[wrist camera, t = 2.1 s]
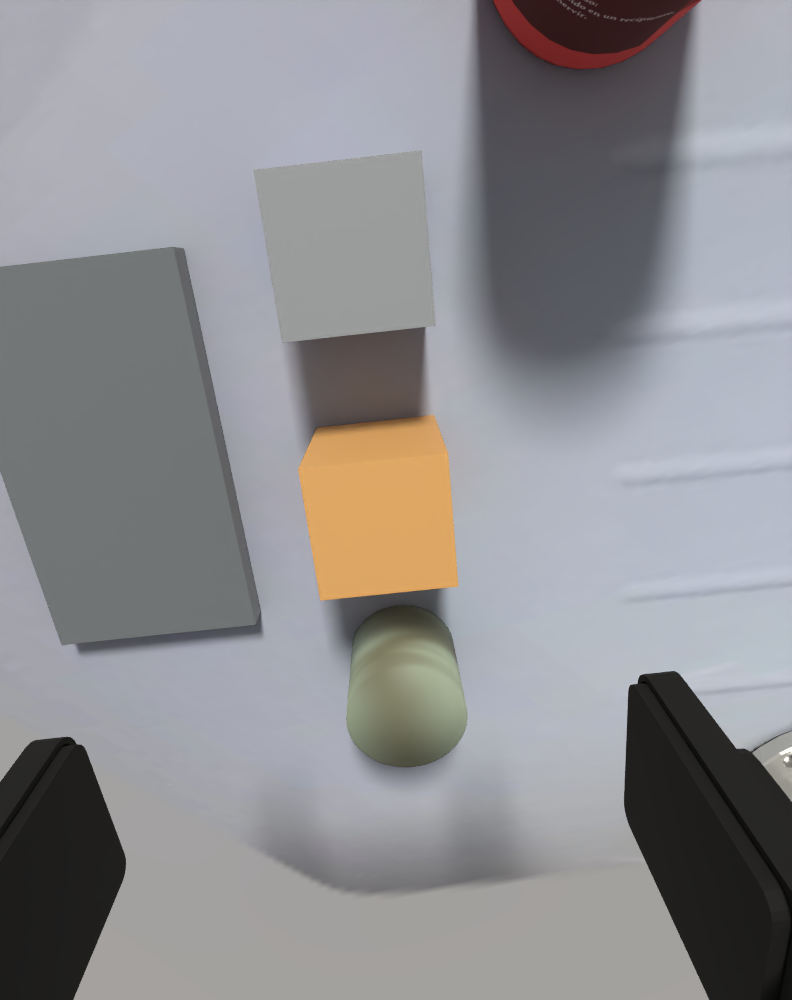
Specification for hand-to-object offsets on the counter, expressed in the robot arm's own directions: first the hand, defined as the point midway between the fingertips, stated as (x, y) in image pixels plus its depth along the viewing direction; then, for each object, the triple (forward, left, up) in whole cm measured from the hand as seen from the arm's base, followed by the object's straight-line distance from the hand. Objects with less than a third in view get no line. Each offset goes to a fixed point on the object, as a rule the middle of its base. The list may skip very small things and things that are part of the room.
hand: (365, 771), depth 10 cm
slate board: (+11, -2, -17) cm, 20 cm away
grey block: (0, -9, -17) cm, 19 cm away
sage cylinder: (0, +9, -17) cm, 19 cm away
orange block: (0, 0, -17) cm, 17 cm away
